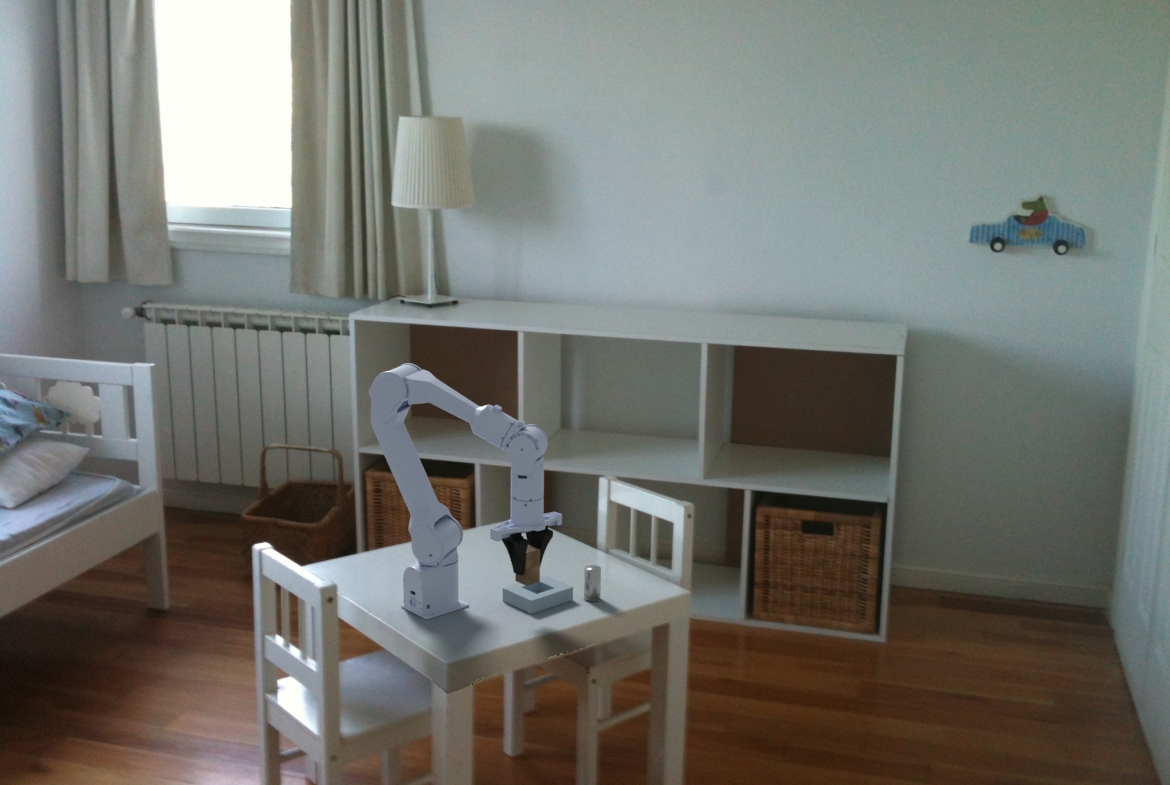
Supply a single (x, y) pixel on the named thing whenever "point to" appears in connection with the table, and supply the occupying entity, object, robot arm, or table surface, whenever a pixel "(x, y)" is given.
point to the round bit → (592, 583)
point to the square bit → (530, 567)
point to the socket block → (538, 595)
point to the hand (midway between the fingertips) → (526, 571)
